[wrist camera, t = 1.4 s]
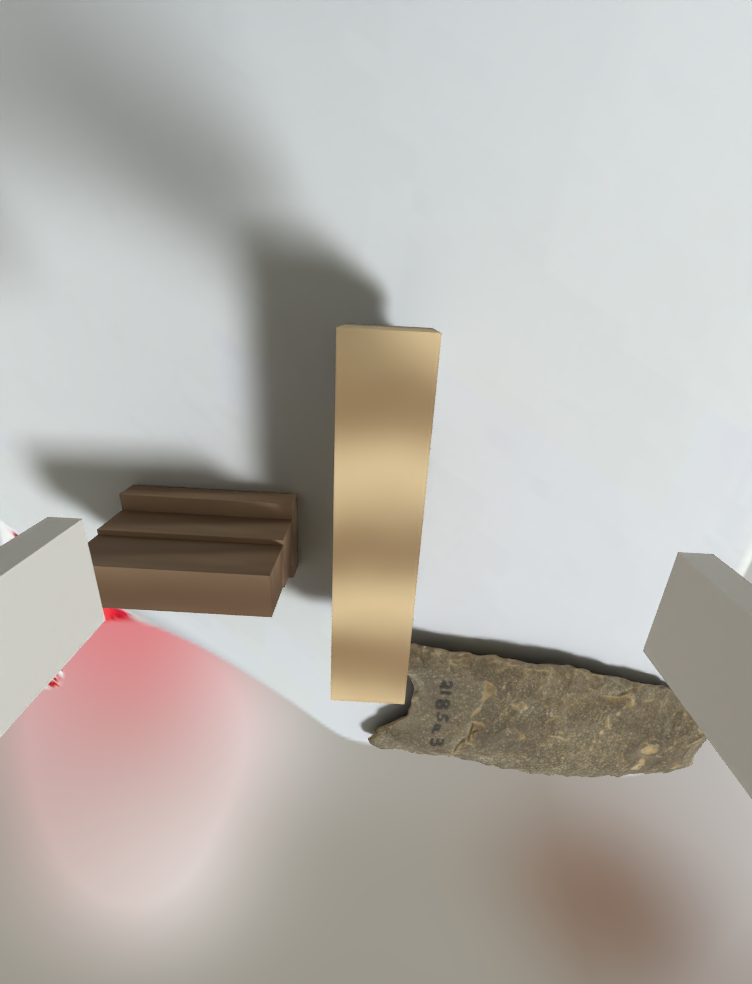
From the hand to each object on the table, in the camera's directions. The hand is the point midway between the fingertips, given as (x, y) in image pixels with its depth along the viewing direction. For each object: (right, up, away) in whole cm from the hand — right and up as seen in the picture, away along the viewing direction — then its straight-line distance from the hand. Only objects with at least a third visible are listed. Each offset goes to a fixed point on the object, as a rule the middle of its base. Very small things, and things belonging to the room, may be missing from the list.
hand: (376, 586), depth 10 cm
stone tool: (+12, -14, +24) cm, 30 cm away
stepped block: (-10, 0, +18) cm, 21 cm away
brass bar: (0, +1, +14) cm, 14 cm away
